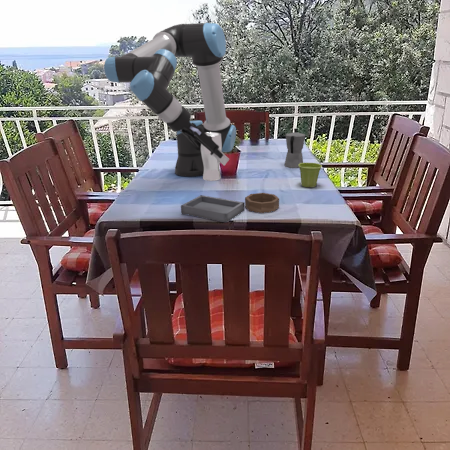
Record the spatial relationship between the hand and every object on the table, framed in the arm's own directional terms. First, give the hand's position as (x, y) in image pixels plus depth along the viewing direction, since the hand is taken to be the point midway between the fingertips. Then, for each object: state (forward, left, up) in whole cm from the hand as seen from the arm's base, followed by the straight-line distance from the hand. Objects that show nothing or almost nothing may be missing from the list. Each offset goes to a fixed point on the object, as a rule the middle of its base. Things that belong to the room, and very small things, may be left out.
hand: (220, 159), depth 146 cm
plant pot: (+17, +43, -18) cm, 50 cm away
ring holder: (+11, +10, -18) cm, 23 cm away
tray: (-2, -3, -18) cm, 18 cm away
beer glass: (-2, -3, -6) cm, 7 cm away
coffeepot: (0, +69, -18) cm, 72 cm away
